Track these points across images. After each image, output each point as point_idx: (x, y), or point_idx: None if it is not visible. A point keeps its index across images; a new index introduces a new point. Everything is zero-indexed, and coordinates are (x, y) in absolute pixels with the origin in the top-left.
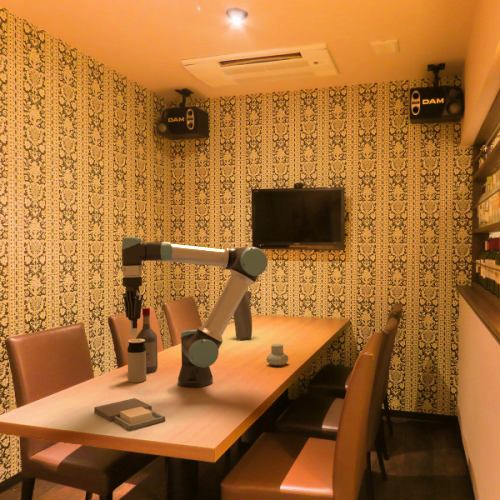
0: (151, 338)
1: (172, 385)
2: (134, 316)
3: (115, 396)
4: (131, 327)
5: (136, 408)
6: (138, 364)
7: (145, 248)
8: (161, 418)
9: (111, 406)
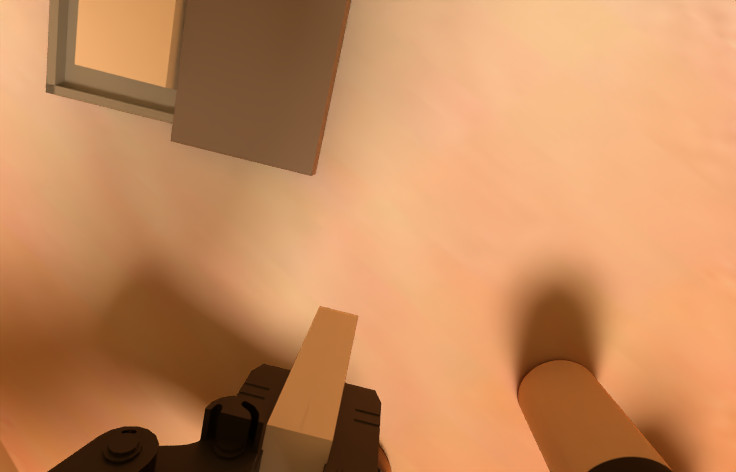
0: None
1: None
2: (84, 462)
3: (458, 191)
4: (296, 364)
5: (158, 57)
6: (554, 428)
7: None
8: (49, 76)
9: (297, 36)
